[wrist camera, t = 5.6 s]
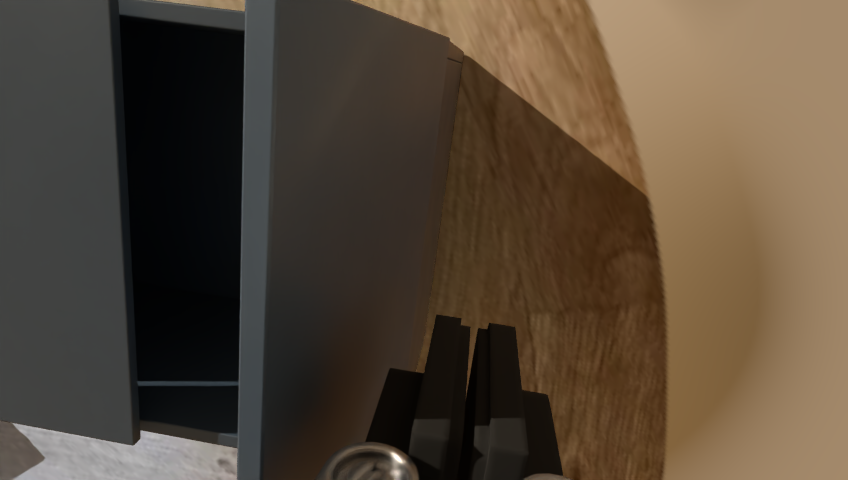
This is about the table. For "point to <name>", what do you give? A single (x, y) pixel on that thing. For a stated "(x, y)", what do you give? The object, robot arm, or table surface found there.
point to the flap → (329, 222)
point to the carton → (134, 217)
